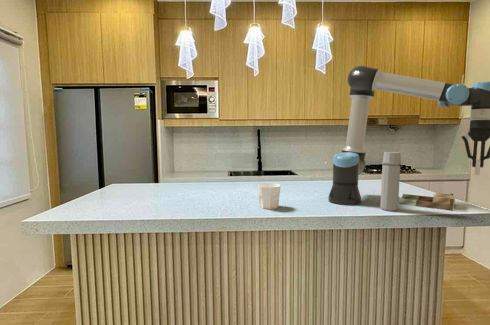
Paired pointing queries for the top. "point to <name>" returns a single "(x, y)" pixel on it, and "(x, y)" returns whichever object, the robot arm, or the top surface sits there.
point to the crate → (443, 198)
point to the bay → (424, 202)
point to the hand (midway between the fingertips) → (476, 174)
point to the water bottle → (390, 181)
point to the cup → (269, 195)
